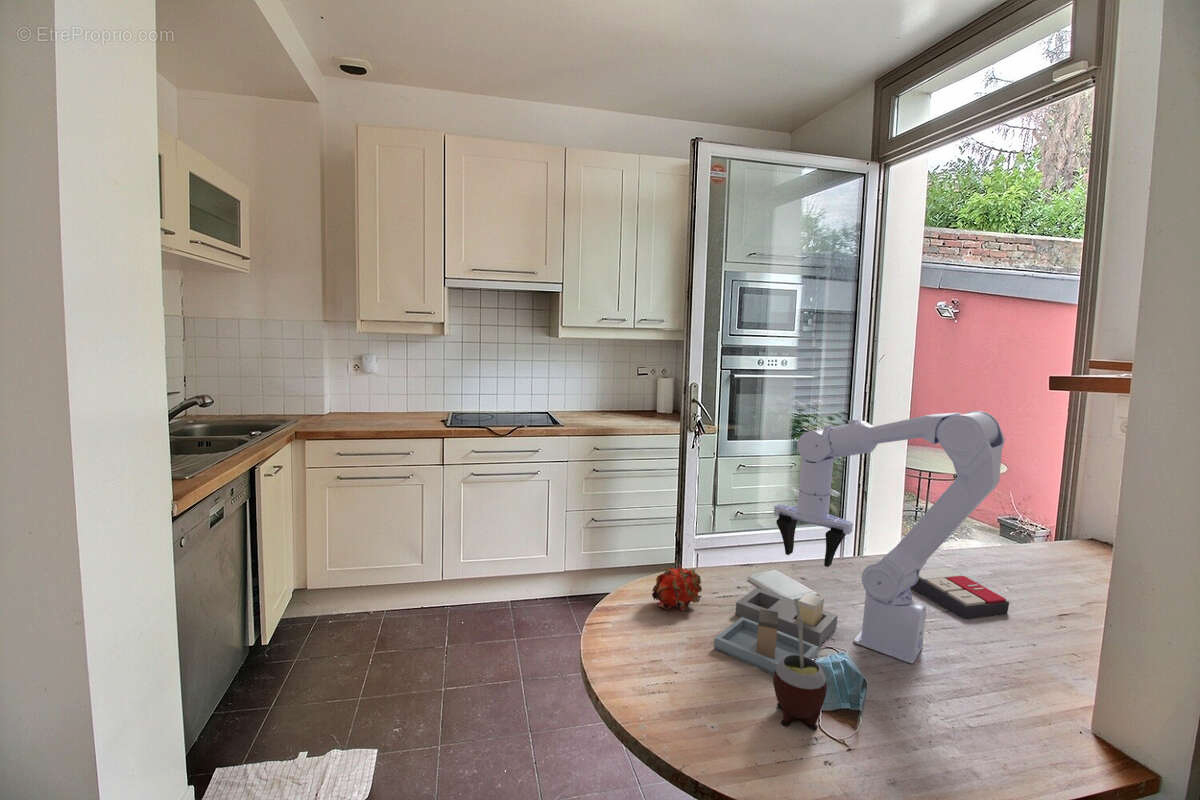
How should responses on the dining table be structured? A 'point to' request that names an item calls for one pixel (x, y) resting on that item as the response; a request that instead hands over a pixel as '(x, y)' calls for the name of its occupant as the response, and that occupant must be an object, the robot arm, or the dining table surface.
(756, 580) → the hard drive
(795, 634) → the block
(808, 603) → the block
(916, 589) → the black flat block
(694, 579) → the dragon fruit
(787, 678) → the mate gourd
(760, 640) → the block
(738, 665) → the dining table surface
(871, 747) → the dining table surface
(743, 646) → the parts tray
